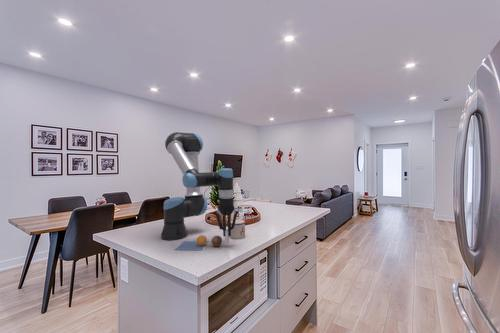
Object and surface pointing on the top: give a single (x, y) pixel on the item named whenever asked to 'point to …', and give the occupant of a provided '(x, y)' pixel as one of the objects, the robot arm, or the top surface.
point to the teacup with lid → (238, 229)
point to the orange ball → (201, 240)
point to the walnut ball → (216, 240)
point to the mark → (190, 246)
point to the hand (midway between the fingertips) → (227, 242)
